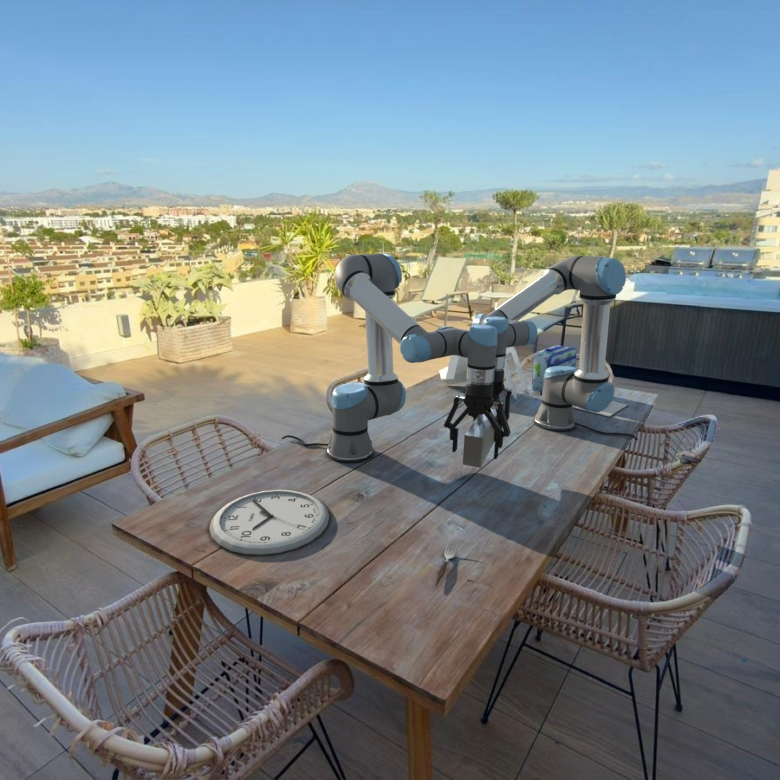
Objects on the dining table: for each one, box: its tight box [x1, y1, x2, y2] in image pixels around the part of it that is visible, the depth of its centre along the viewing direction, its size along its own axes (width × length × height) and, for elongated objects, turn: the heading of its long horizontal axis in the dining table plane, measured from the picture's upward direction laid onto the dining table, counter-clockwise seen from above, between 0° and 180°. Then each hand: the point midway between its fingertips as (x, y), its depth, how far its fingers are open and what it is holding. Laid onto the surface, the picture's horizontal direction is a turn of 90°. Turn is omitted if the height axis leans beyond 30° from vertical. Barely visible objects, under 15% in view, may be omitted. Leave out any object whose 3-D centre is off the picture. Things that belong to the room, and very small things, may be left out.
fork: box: [435, 540, 459, 587], centre depth 117 cm, size 3×16×2 cm, turn 160°
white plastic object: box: [438, 347, 531, 400], centre depth 245 cm, size 37×45×31 cm
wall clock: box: [209, 489, 330, 556], centre depth 135 cm, size 30×2×30 cm
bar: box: [462, 409, 498, 468], centre depth 158 cm, size 24×5×9 cm, turn 158°
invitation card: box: [573, 400, 629, 418], centre depth 226 cm, size 21×1×15 cm
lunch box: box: [531, 345, 577, 394], centre depth 245 cm, size 26×11×21 cm, turn 134°
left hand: (474, 453), depth 151 cm, fingers open, 11 cm apart
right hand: (486, 438), depth 166 cm, fingers closed on bar, 5 cm apart
